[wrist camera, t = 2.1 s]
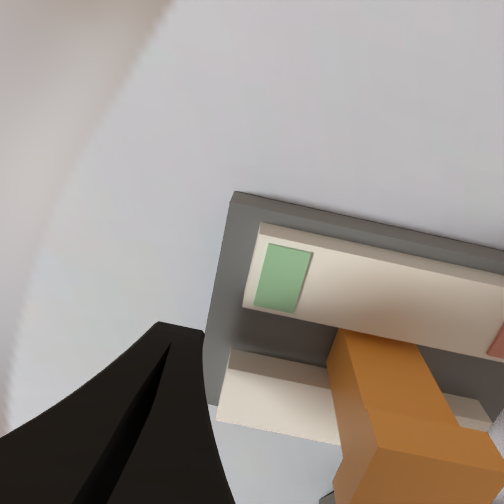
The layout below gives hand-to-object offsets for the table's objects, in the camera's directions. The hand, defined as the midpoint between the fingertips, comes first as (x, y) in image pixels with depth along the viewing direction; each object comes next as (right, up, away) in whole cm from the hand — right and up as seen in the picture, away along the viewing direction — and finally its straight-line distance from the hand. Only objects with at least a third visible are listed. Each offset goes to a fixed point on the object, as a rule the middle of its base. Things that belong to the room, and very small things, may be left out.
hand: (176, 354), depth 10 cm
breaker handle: (+6, 0, +2) cm, 6 cm away
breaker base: (+6, 0, +3) cm, 7 cm away
